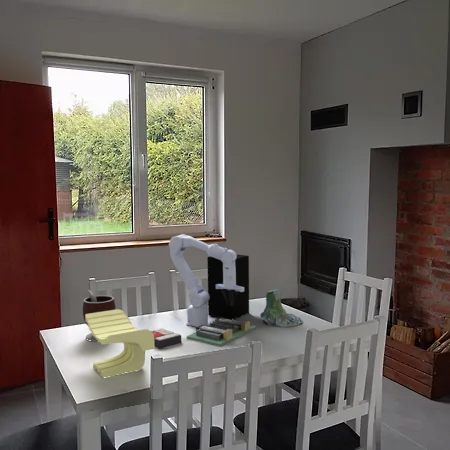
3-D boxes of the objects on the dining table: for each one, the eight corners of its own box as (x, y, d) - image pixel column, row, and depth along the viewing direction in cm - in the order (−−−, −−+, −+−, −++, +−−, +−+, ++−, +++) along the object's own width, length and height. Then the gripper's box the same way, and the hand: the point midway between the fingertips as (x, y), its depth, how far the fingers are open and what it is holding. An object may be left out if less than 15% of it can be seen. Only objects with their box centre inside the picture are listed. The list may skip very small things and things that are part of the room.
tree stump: (292, 331, 221) (282, 292, 221) (255, 334, 233) (246, 297, 233) (308, 319, 236) (300, 283, 236) (273, 322, 248) (265, 288, 248)
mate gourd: (122, 336, 215) (121, 292, 213) (95, 344, 205) (93, 298, 203) (102, 329, 225) (101, 286, 223) (75, 337, 215) (73, 292, 213)
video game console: (231, 320, 236) (231, 259, 233) (208, 315, 245) (207, 256, 242) (249, 313, 248) (249, 255, 245) (226, 309, 257) (225, 253, 254)
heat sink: (193, 334, 213) (193, 326, 212) (222, 322, 231) (222, 314, 230) (224, 341, 203) (224, 333, 203) (252, 328, 221) (251, 320, 221)
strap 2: (218, 321, 225) (218, 319, 225) (222, 319, 227) (222, 317, 227) (241, 325, 218) (240, 323, 218) (244, 323, 220) (244, 321, 220)
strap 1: (199, 329, 214) (199, 327, 214) (204, 327, 216) (203, 325, 216) (223, 333, 207) (223, 332, 206) (227, 332, 209) (227, 330, 209)
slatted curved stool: (155, 377, 171) (153, 327, 169) (110, 387, 163) (108, 335, 161) (126, 351, 196) (125, 308, 195) (87, 359, 188) (85, 314, 187)
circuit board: (186, 338, 211) (186, 336, 211) (223, 322, 234) (223, 320, 234) (220, 346, 201) (220, 343, 201) (255, 328, 224) (255, 326, 224)
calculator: (161, 327, 217) (181, 333, 205) (162, 336, 217) (182, 343, 206) (140, 332, 210) (159, 339, 198) (140, 342, 210) (160, 349, 199)
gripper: (247, 276, 223) (248, 305, 224) (221, 273, 231) (222, 301, 232) (239, 279, 217) (239, 309, 218) (212, 276, 225) (213, 305, 226)
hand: (230, 305), depth 225 cm, fingers closed
